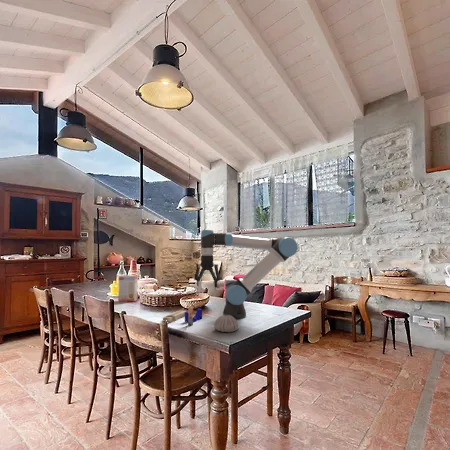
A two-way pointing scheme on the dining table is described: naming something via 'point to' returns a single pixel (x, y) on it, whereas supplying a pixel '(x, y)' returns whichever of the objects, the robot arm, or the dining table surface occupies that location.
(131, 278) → the cracker box
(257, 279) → the robot arm
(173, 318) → the joist batten
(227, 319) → the sea urchin shell
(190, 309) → the awl
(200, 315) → the cable clip
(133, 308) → the dining table surface
